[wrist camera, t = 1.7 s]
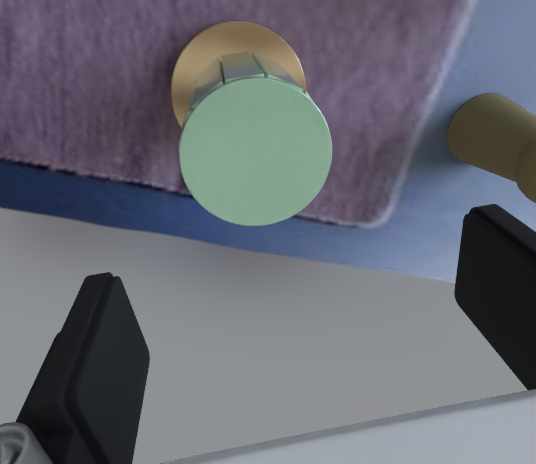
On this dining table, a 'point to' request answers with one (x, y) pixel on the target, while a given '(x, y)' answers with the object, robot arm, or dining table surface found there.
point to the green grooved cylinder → (252, 142)
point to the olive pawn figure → (496, 139)
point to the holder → (223, 43)
